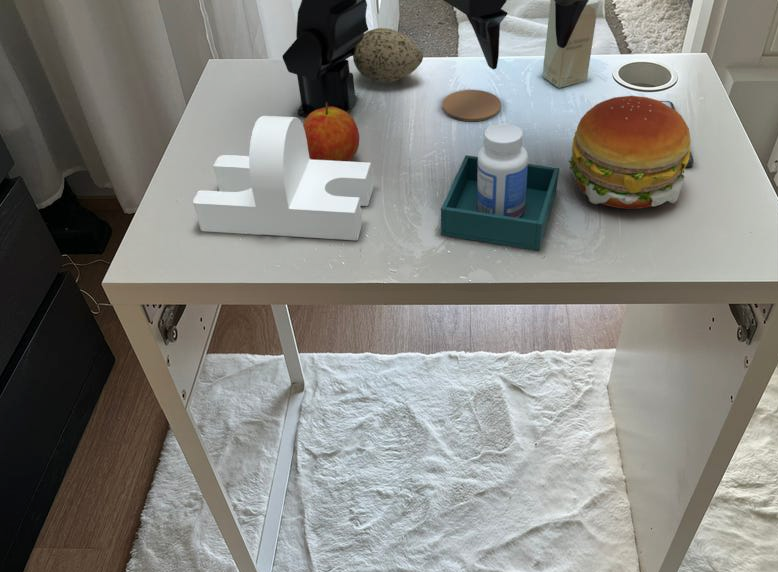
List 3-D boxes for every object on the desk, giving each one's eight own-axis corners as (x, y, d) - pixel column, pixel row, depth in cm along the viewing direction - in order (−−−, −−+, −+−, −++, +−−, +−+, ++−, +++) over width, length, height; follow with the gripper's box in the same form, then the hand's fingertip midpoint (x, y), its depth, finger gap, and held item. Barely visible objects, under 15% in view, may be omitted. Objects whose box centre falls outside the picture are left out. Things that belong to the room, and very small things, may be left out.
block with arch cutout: (372, 190, 91) (365, 103, 83) (357, 240, 84) (347, 151, 76) (226, 181, 93) (205, 96, 85) (199, 230, 86) (174, 142, 78)
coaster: (435, 117, 103) (435, 114, 102) (450, 89, 108) (450, 86, 108) (493, 125, 101) (494, 122, 101) (506, 96, 106) (506, 93, 106)
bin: (440, 235, 85) (440, 208, 82) (465, 180, 92) (465, 154, 90) (539, 250, 83) (542, 224, 80) (556, 193, 90) (559, 167, 87)
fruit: (352, 181, 92) (345, 121, 87) (297, 175, 94) (287, 115, 88) (368, 151, 97) (363, 91, 91) (315, 145, 98) (307, 86, 92)
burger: (612, 140, 97) (625, 65, 90) (706, 184, 91) (728, 106, 83) (543, 186, 91) (551, 108, 84) (638, 236, 84) (656, 157, 77)
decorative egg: (344, 28, 104) (415, 30, 102) (361, 25, 110) (429, 27, 108) (346, 84, 107) (415, 87, 105) (363, 78, 113) (428, 81, 111)
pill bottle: (525, 197, 89) (531, 120, 82) (524, 225, 85) (530, 147, 78) (477, 195, 89) (479, 118, 82) (474, 223, 85) (477, 145, 78)
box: (558, 89, 107) (566, 8, 99) (541, 76, 110) (548, -4, 102) (589, 80, 109) (600, 0, 101) (571, 68, 112) (581, -11, 104)
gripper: (506, -61, 64) (498, 111, 76) (673, -100, 71) (642, 64, 82) (437, -95, 71) (439, 68, 82) (595, -129, 77) (577, 27, 89)
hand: (527, 57), depth 84 cm, fingers open, 9 cm apart
